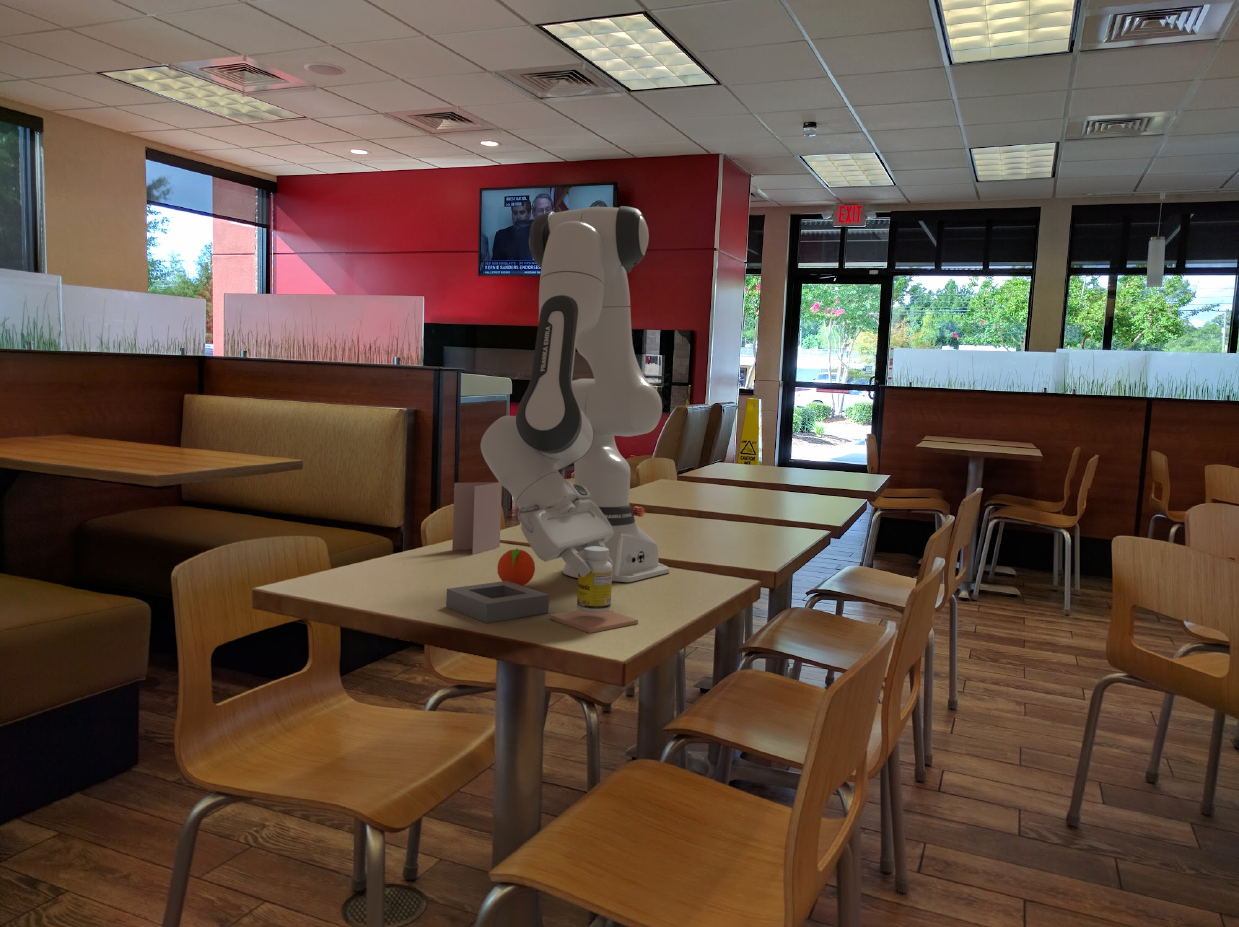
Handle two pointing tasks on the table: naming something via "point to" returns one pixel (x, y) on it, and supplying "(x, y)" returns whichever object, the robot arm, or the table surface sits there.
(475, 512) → the greeting card
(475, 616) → the pocket holder
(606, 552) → the supplement bottle
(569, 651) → the table surface
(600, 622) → the coaster
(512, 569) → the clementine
